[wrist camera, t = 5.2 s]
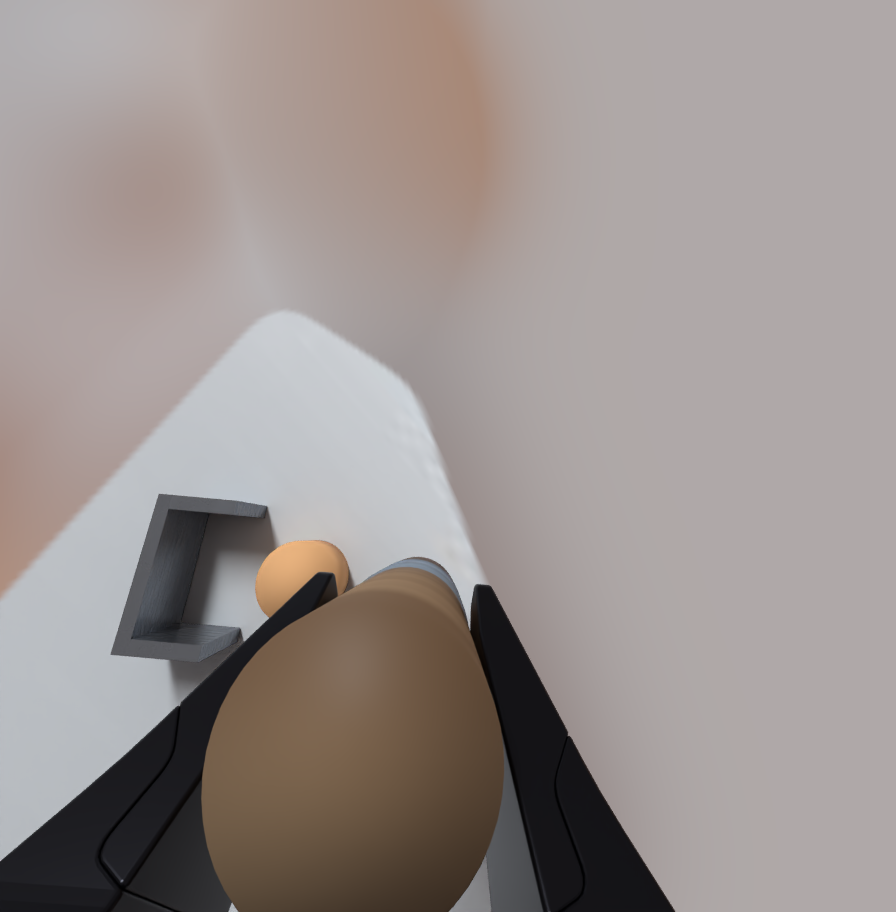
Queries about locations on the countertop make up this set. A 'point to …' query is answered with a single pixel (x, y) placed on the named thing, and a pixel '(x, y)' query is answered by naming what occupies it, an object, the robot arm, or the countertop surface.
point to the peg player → (358, 756)
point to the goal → (173, 583)
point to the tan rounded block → (297, 571)
